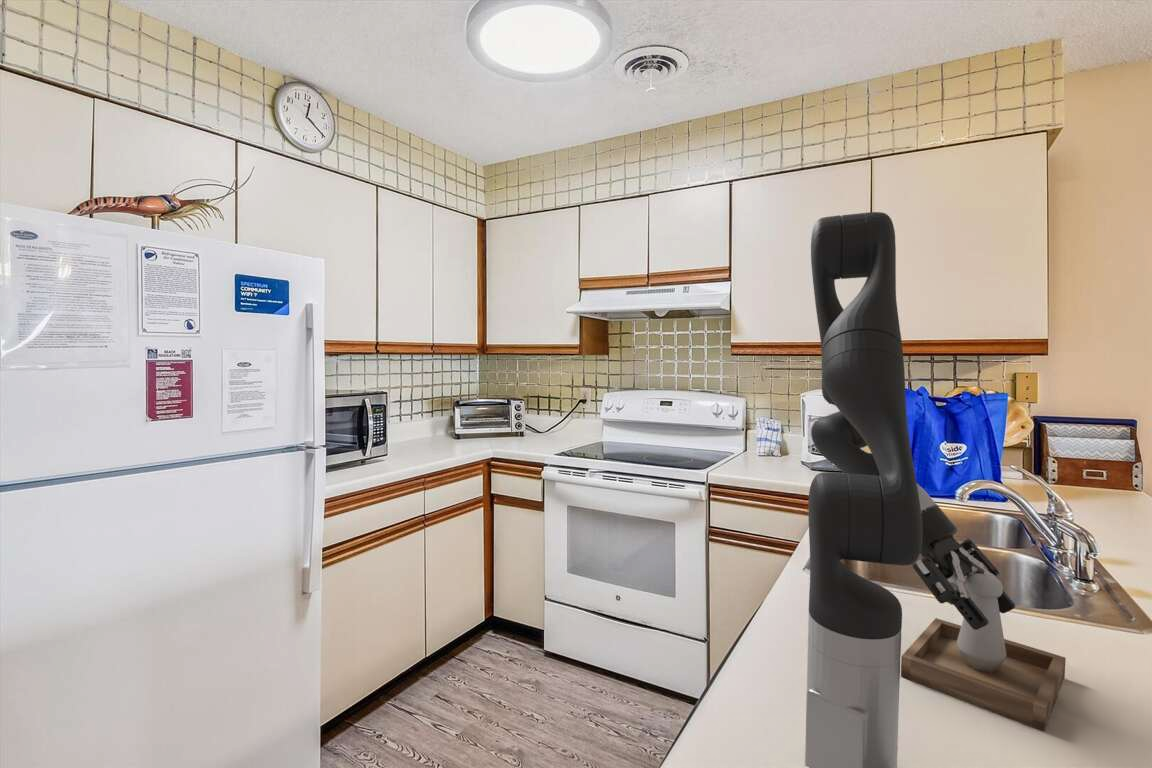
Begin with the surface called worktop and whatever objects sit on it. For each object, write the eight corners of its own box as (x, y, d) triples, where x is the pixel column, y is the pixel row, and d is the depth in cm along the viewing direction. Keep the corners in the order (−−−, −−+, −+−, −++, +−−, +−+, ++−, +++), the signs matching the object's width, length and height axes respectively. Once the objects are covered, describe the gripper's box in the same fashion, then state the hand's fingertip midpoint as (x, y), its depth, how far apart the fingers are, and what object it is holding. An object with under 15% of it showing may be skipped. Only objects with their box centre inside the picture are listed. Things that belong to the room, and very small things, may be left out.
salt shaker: (983, 679, 79) (987, 587, 78) (946, 657, 84) (949, 571, 83) (1015, 672, 80) (1019, 582, 79) (977, 651, 86) (980, 566, 85)
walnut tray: (1044, 731, 70) (1045, 707, 70) (900, 676, 81) (901, 655, 81) (1064, 677, 81) (1065, 657, 80) (935, 636, 92) (935, 618, 92)
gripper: (907, 511, 82) (997, 622, 73) (955, 496, 89) (1041, 594, 81) (869, 537, 87) (949, 644, 78) (918, 520, 94) (996, 615, 85)
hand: (996, 618), depth 79 cm, fingers open, 8 cm apart
